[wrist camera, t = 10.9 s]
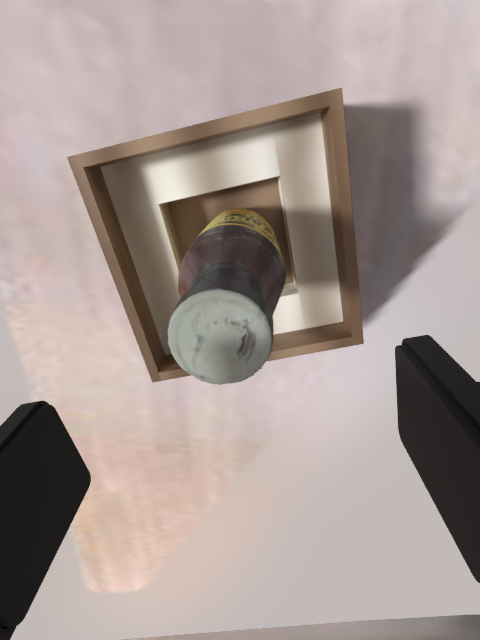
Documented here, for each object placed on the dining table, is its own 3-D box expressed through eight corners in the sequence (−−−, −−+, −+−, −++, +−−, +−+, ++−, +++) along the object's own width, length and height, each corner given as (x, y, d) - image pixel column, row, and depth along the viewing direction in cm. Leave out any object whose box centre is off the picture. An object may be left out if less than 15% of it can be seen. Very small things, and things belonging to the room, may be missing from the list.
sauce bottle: (289, 240, 31) (353, 346, 13) (241, 289, 33) (239, 442, 15) (234, 186, 29) (220, 223, 11) (187, 241, 31) (110, 349, 13)
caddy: (319, 105, 28) (341, 87, 21) (341, 310, 35) (363, 343, 29) (105, 158, 29) (67, 157, 23) (168, 344, 37) (152, 382, 30)
